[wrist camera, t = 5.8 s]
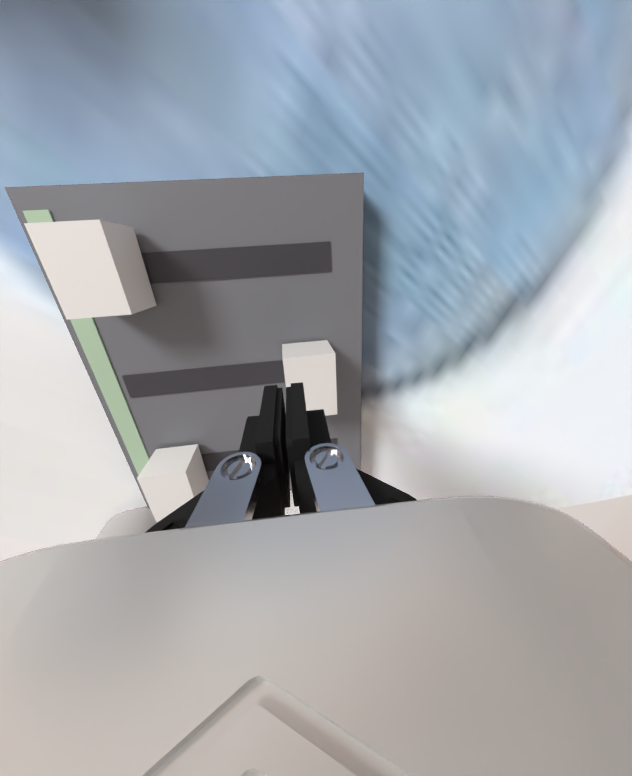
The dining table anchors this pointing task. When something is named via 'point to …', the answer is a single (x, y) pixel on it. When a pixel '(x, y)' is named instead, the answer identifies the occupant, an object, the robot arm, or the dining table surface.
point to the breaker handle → (312, 373)
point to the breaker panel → (201, 306)
